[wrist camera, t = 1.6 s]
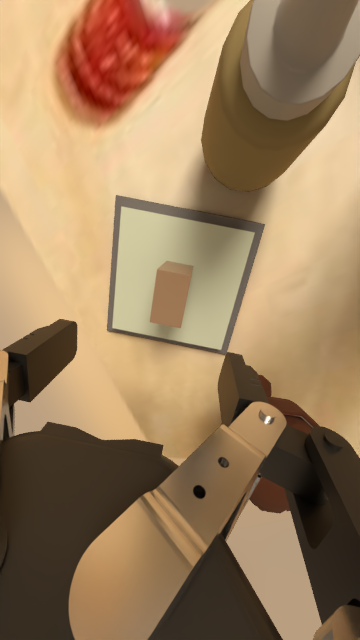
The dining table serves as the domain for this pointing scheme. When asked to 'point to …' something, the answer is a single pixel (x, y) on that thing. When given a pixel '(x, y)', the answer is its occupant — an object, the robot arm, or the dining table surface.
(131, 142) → the dining table surface
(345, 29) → the squeeze bottle
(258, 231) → the mat
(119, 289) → the cover
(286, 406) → the ice cream bowl
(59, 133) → the dining table surface
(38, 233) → the dining table surface
